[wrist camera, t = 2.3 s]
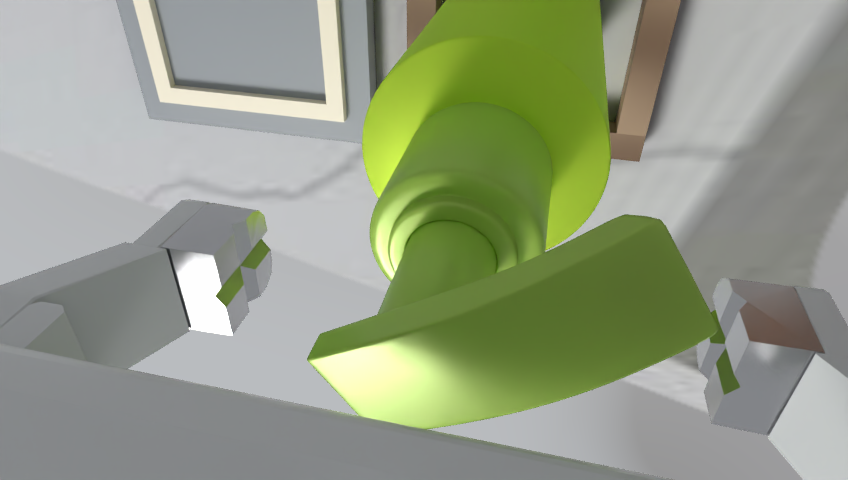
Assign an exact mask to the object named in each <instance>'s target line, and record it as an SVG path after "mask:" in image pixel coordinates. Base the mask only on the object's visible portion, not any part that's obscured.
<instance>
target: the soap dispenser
mask: <svg viewBox="0 0 848 480" xmlns="http://www.w3.org/2000/svg"><path fill="white" fill-rule="evenodd" d="M362 151H363V159H364V164H365V168H366V172H367V175H368V178H369V181H370V183H371V186H372V188H373V190H374V192H375V194H376V196H377V197H378V199H379V200H378V202H377V204H376V206H375V208H374V211H373V214H372V218H371V223H370V243H371V248H372V251H373V254H374V257H375V259H376V261H377V263H378V265H379V267H380V269H381V270H382V272H383V273H384V274H385V276H386V277H387V278H388V279H389V280H390V282H391V283H390V286H389V288H388V291H387V293H386V295H385V298H384V300H383V303H382V305H381V307H380V309H379V312H378V314H377V315H375V316H372V317H369V318H366V319H363V320H360V321H358V322H354V323H351V324H348V325H345V326H342V327H339V328H336V329H333V330H330V331H327V332H324V333H321V334H320V335H319V337H318V339H317V340H316V342H315V345H314V346H313V348H312V350H311V352H310V354H309V356H308V358H307V361H308V362H309V363H310V364H311V365H312V366H313V367H314V368H315V369H316V371H318V373H319V374H320V375H321V376H322V377H323V378H324V379H325V380H326V381H327V382H328V383H329V384H330V385H331V386H332V388H333V389H334V390H335V391H336V392H337V393H338V394H339V395H340V396H341V397H342V398H343V399H344V400H345V401H346V402H347V403H348V405H349V406H350V407H351V408H352V409H353V410H354V411H355V412H356V413H357V414H358V415H359V416H362V417H367V418H372V419H377V420H382V421H387V422H392V423H397V424H402V425H407V426H412V427H417V428H422V429H433V428H439V427H445V426H451V425H457V424H463V423H468V422H474V421H479V420H484V419H489V418H494V417H498V416H503V415H508V414H512V413H516V412H521V411H524V410H528V409H532V408H536V407H539V406H542V405H547V404H550V403H553V402H556V401H560V400H563V399H566V398H569V397H572V396H575V395H578V394H581V393H584V392H587V391H590V390H593V389H595V388H598V387H601V386H603V385H606V384H609V383H611V382H614V381H616V380H619V379H621V378H624V377H626V376H628V375H631V374H633V373H636V372H638V371H640V370H643V369H645V368H647V367H650V366H652V365H654V364H656V363H659V362H661V361H663V360H665V359H667V358H670V357H672V356H674V355H676V354H678V353H680V352H682V351H685V350H687V349H689V348H691V347H693V346H695V345H697V344H699V343H701V342H703V341H705V340H707V339H708V338H710V337H712V336H714V335H715V334H716V332H717V331H718V328H717V324H716V322H715V320H714V318H713V316H712V314H711V312H710V310H709V308H708V306H707V304H706V302H705V301H704V299H703V297H702V295H701V293H700V291H699V289H698V287H697V285H696V283H695V281H694V279H693V277H692V275H691V273H690V271H689V269H688V267H687V265H686V264H685V262H684V260H683V258H682V256H681V254H680V252H679V250H678V249H677V247H676V245H675V243H674V241H673V239H672V237H671V235H670V233H669V231H668V230H667V228H666V226H665V225H664V223H663V222H662V221H661V220H660V219H656V218H652V217H647V216H637V215H622V216H619V217H617V218H614V219H612V220H610V221H608V222H606V223H604V224H602V225H600V226H598V227H596V228H594V229H592V230H590V231H588V232H586V233H584V234H582V235H580V236H578V237H576V238H575V239H573V240H571V241H568V242H566V243H564V244H562V245H560V246H558V247H556V248H554V249H552V250H550V251H547V252H545V250H548V249H550V248H552V247H554V246H556V245H557V244H559V243H561V242H562V241H564V240H565V239H567V238H568V237H569V236H571V235H572V234H573V233H574V232H575V231H577V230H578V229H579V228H580V227H581V226H582V225H583V224H584V222H585V221H586V220H587V219H588V218H589V216H590V215H591V214H592V212H593V211H594V209H595V208H596V206H597V204H598V203H599V201H600V199H601V197H602V194H603V192H604V189H605V187H606V184H607V180H608V176H609V171H610V163H611V144H610V130H609V117H608V104H607V90H606V77H605V63H604V50H603V36H602V23H601V9H600V0H446V1H445V2H444V4H443V5H442V6H441V7H440V9H439V10H438V11H437V12H436V14H435V15H434V16H433V18H432V19H431V20H430V21H429V23H428V24H427V25H426V26H425V28H424V29H423V30H422V32H421V33H420V34H419V35H418V37H417V38H416V39H415V40H414V42H413V43H412V44H411V46H410V47H409V48H408V49H407V51H406V52H405V53H404V54H403V56H402V57H401V58H400V60H399V61H398V62H397V63H396V65H395V66H394V67H393V69H392V70H391V71H390V72H389V74H388V75H387V76H386V77H385V79H384V80H383V81H382V83H381V84H380V86H379V87H378V89H377V90H376V92H375V94H374V96H373V98H372V100H371V102H370V105H369V107H368V110H367V113H366V117H365V121H364V126H363V134H362Z"/></svg>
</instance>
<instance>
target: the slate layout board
mask: <svg viewBox="0 0 848 480" xmlns="http://www.w3.org/2000/svg"><path fill="white" fill-rule="evenodd" d="M116 2H117V5H118V9H119V13H120V16H121V20H122V23H123V27H124V30H125V34H126V37H127V41H128V44H129V48H130V52H131V55H132V59H133V62H134V66H135V69H136V73H137V76H138V80H139V83H140V87H141V91H142V94H143V98H144V101H145V105H146V108H147V112H148V115H149V119H156V120H165V121H173V122H182V123H190V124H199V125H207V126H216V127H224V128H233V129H242V130H250V131H259V132H267V133H276V134H284V135H293V136H301V137H310V138H318V139H327V140H335V141H344V142H353V143H361V144H362V134H363V126H364V121H365V117H366V113H367V110H368V107H369V105H370V102H371V100H372V98H373V96H374V94H375V92H376V64H375V35H374V7H373V0H116Z"/></svg>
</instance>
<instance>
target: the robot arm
mask: <svg viewBox="0 0 848 480" xmlns="http://www.w3.org/2000/svg"><path fill="white" fill-rule="evenodd" d="M266 231H267V227H266V222H265V217H264V215H263V214H262V213H261V212H260V211H258V210H252V209H246V208H240V207H234V206H228V205H222V204H216V203H209V202H203V201H196V200H182V201H180V202H179V203H178V204H177V205H176V206H175V207H174V208H172V209H171V210H170V211H169V212H168V213H167V214H166V215H164V216H163V217H162V218H161V219H160V220H159V221H158V222H156V223H155V224H154V225H153V226H152V227H151V228H150V229H149V230H147V231H146V232H145V233H144V234H143V235H142V236H141V237H139V238H138V239H137V240H136V241H135V242H134V243H126V242H125V243H122V244H119V245H116V246H113V247H110V248H108V249H104V250H102V251H99V252H96V253H93V254H90V255H87V256H84V257H81V258H79V259H76V260H73V261H70V262H67V263H64V264H61V265H58V266H55V267H52V268H49V269H47V270H43V271H41V272H38V273H35V274H32V275H29V276H26V277H23V278H20V279H18V280H15V281H12V282H9V283H6V284H3V285H0V480H673V479H668V478H663V477H658V476H654V475H649V474H644V473H639V472H634V471H629V470H624V469H619V468H614V467H609V466H604V465H599V464H594V463H589V462H585V461H580V460H575V459H570V458H565V457H560V456H555V455H551V454H545V453H541V452H536V451H531V450H526V449H521V448H516V447H511V446H506V445H501V444H496V443H492V442H487V441H481V440H477V439H472V438H466V437H462V436H456V435H452V434H446V433H442V432H436V431H432V430H427V429H422V428H417V427H412V426H407V425H402V424H397V423H392V422H387V421H382V420H377V419H372V418H367V417H362V416H357V415H352V414H347V413H342V412H337V411H332V410H327V409H322V408H317V407H312V406H307V405H302V404H297V403H292V402H287V401H282V400H277V399H272V398H267V397H263V396H257V395H253V394H248V393H242V392H238V391H233V390H228V389H223V388H218V387H213V386H208V385H203V384H198V383H193V382H188V381H183V380H178V379H173V378H168V377H163V376H158V375H154V374H149V373H144V372H138V371H134V370H129V369H128V368H130V367H131V366H133V365H135V364H136V363H138V362H140V361H141V360H143V359H145V358H146V357H148V356H149V355H151V354H153V353H154V352H156V351H158V350H159V349H161V348H163V347H164V346H166V345H167V344H169V343H171V342H172V341H174V340H176V339H177V338H179V337H181V336H182V335H184V334H185V333H187V332H189V331H190V330H189V329H195V330H201V331H208V332H214V333H221V334H227V335H233V334H234V332H235V331H236V329H237V328H238V327H239V325H240V324H241V322H242V321H243V320H244V318H245V317H246V315H247V314H248V313H249V308H248V302H249V301H251V300H253V299H256V298H258V297H260V296H261V294H262V293H263V291H264V290H265V288H266V287H267V284H268V281H269V278H270V275H271V269H272V257H271V250H270V249H269V247H268V246H267V245H266V244H265V243H264V242H263V240H262V237H263V236H264V234H265V233H266ZM712 297H713V301H714V305H715V309H716V310H714V311H713V312H711V314H712V316H713V318H714V320H715V322H716V324H717V328H718V331H717V332H716V334H715V335H714V336H712V337H710V338H708V339H707V340H705V341H703V342H701V343H699V344H697V361H698V366H699V371H700V372H701V373H702V374H703V375H704V376H705V377H706V378H707V379H708V383H707V385H706V388H705V390H704V394H705V399H706V403H707V407H708V412H709V416H710V421H711V424H715V425H720V426H725V427H730V428H734V429H739V430H744V431H749V432H754V433H758V434H763V435H768V439H769V440H770V441H771V442H772V443H773V445H774V446H775V447H776V448H777V449H778V450H779V452H780V453H781V454H782V455H783V456H784V458H785V459H786V460H787V461H788V462H789V463H790V465H791V466H792V467H793V468H794V469H795V470H796V472H797V473H798V474H799V475H800V476H801V478H802V479H803V480H848V326H847V324H846V322H845V320H844V318H843V317H842V315H841V313H840V311H839V309H838V308H837V306H836V304H835V302H834V300H833V299H832V297H831V295H830V294H829V293H828V292H827V291H825V290H823V289H816V288H807V287H798V286H784V285H776V284H769V283H761V282H753V281H746V280H738V279H730V278H722V279H721V280H720V281H719V283H718V284H717V286H716V289H715V291H714V294H713V296H712Z"/></svg>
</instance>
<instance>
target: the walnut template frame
mask: <svg viewBox="0 0 848 480" xmlns="http://www.w3.org/2000/svg"><path fill="white" fill-rule="evenodd" d="M680 2H681V0H642V4H641V9H640V13H639V18H638V22H637V27H636V31H635V36H634V40H633V45H632V49H631V54H630V58H629V63H628V67H627V72H626V76H625V81H624V85H623V90H622V94H621V99H620V103H619V108H618V112H617V117H616V121H615V122H612V121H609V130H610V144H611V159H620V160H629V161H638V162H639V161H640V157H641V153H642V149H643V145H644V141H645V137H646V134H647V130H648V126H649V122H650V118H651V114H652V110H653V107H654V103H655V99H656V95H657V91H658V87H659V83H660V80H661V76H662V72H663V68H664V64H665V60H666V56H667V53H668V49H669V45H670V41H671V37H672V33H673V29H674V26H675V22H676V18H677V14H678V10H679V6H680ZM441 4H442V0H407V49H408V48H409V47H410V46H411V44H412V43H413V42H414V40H415V39H416V38H417V37H418V35H419V34H420V33H421V32H422V30H423V29H424V28H425V26H426V25H427V24H428V23H429V21H430V20H431V19H432V18H433V16H434V15H435V14H436V12H437V11H438V10H439V9H440V7H441Z"/></svg>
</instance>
